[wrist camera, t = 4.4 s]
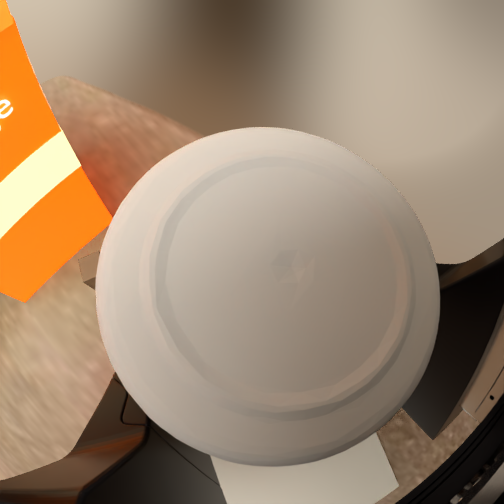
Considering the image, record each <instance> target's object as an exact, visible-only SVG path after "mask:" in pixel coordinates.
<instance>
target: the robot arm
mask: <svg viewBox="0 0 504 504" xmlns="http://www.w3.org/2000/svg"><path fill="white" fill-rule="evenodd" d="M436 266H437V271H438V278H439V288H440V316H439V324H438V331H437V336H436V340H435V345H434V348H433V351H432V354H431V357H430V360H429V363H428V365H427V367H426V370H425V372H424V374H423V376H422V378H421V380H420V381H419V383H418V385H417V387H416V388H415V390H414V391H413V393H412V394H411V396H410V397H409V399H408V400H407V401H406V402H405V404H404V405H403V406H402V408H403V409H404V410H405V411H406V413H407V414H408V415H409V416H410V417H411V418H412V419H413V420H414V421H415V422H416V423H417V424H418V425H419V426H420V427H421V429H422V430H423V431H424V432H425V433H426V434H427V435H428V436H429V437H430V438H431V439H432V440H434V439H435V438H436V437H437V436H438V435H439V434H440V433H441V432H442V431H443V430H444V429H445V428H446V427H447V426H448V425H449V424H450V423H451V422H452V421H453V420H454V419H455V418H456V417H457V416H458V415H459V414H460V413H461V412H462V410H464V411H465V412H467V413H468V414H469V415H470V416H471V417H472V418H473V419H475V420H476V421H478V422H479V423H480V424H479V425H478V427H477V428H476V429H475V430H474V431H473V432H472V434H471V435H470V436H469V437H468V438H467V439H466V440H465V441H464V443H463V444H462V445H461V446H460V447H459V448H458V449H457V450H456V451H455V452H454V453H453V454H452V455H451V456H450V457H449V458H448V459H447V460H446V461H445V462H444V463H443V464H442V465H441V466H440V467H439V468H438V469H437V470H435V471H434V472H433V473H432V474H431V475H430V476H429V477H428V478H426V479H425V480H424V481H423V482H422V483H421V484H419V485H418V486H417V487H416V488H415V489H413V490H412V491H411V492H410V493H408V494H407V495H406V496H405V497H403V498H402V499H401V500H399V501H398V502H397V503H395V504H504V238H503V239H502V240H501V241H499V242H498V243H496V244H494V245H493V246H491V247H490V248H488V249H487V250H485V251H484V252H482V253H480V254H479V255H477V256H476V257H474V258H472V259H471V260H469V261H466V262H463V263H459V264H437V263H436ZM478 481H479V482H478ZM475 483H476V484H475ZM474 484H475V485H474ZM473 485H474V486H473ZM461 498H463V499H462V500H461V501H459V502H458V500H459V499H461ZM0 504H227V502H226V499H225V496H224V494H223V491H222V488H221V487H220V483H219V480H218V477H217V474H216V471H215V468H214V466H213V462H212V459H211V456H210V455H209V454H206V453H204V452H201V451H199V450H197V449H194V448H192V447H191V446H189V445H187V444H185V443H183V442H181V441H180V440H178V439H176V438H175V437H173V436H172V435H171V434H169V433H168V432H167V431H165V430H164V429H162V428H161V427H160V426H159V425H157V424H156V423H155V422H154V421H153V420H152V419H151V418H149V417H148V415H147V414H146V413H145V412H144V411H143V410H142V409H141V407H140V406H139V405H138V404H137V403H136V401H135V400H134V399H133V398H132V397H131V395H130V394H129V393H128V392H127V390H126V389H125V387H124V386H123V384H122V382H121V381H120V379H119V377H118V375H117V373H116V372H115V373H114V375H113V379H111V381H110V383H109V386H108V388H107V390H106V392H105V394H104V396H103V398H102V400H101V401H100V403H99V405H98V407H97V408H96V410H95V412H94V414H93V416H92V417H91V419H90V421H89V422H88V424H87V426H86V428H85V429H84V431H83V433H82V435H81V436H80V438H79V440H78V442H77V443H76V445H75V447H74V448H73V450H72V451H71V452H70V453H69V454H68V455H67V456H65V457H64V458H62V459H61V460H59V461H56V462H54V463H51V464H49V465H46V466H43V467H41V468H38V469H35V470H33V471H30V472H27V473H24V474H21V475H18V476H15V477H12V478H9V479H5V480H1V481H0Z"/></svg>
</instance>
